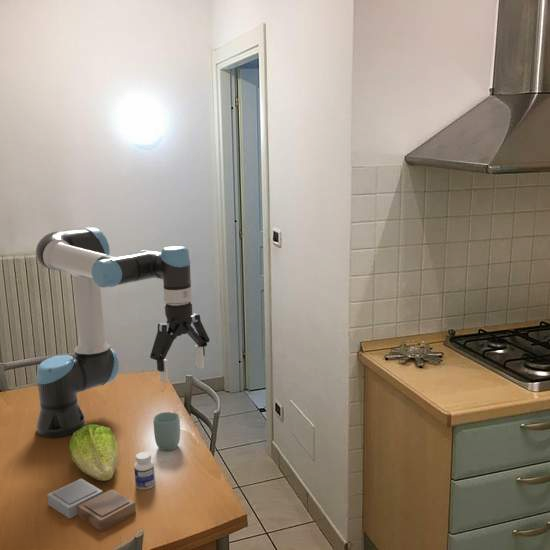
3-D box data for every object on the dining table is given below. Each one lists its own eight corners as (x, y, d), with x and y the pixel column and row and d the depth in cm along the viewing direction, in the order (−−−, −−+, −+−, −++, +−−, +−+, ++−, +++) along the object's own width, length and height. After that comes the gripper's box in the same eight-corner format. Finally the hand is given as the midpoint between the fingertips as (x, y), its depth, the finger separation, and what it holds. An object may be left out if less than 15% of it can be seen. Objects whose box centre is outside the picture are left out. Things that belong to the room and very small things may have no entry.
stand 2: (78, 516, 158) (77, 504, 157) (112, 499, 165) (111, 488, 165) (101, 531, 152) (100, 519, 151) (135, 513, 159) (134, 501, 158)
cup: (175, 454, 189) (174, 423, 187) (151, 452, 190) (149, 421, 188) (184, 442, 196) (182, 412, 194) (161, 440, 198) (159, 411, 196)
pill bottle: (136, 480, 175) (134, 451, 173) (156, 479, 175) (154, 449, 173) (134, 490, 169) (132, 460, 168) (154, 489, 170) (152, 459, 168)
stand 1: (48, 504, 164) (47, 493, 163) (82, 488, 171) (81, 477, 170) (69, 518, 157) (68, 506, 157) (103, 501, 165) (102, 489, 164)
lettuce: (74, 479, 166) (111, 445, 169) (58, 437, 187) (91, 407, 190) (103, 504, 172) (139, 470, 174) (85, 461, 193) (117, 431, 195)
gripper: (151, 313, 164) (157, 390, 168) (219, 295, 182) (222, 364, 187) (133, 309, 169) (139, 384, 173) (201, 291, 187) (205, 359, 191)
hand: (182, 374), depth 180 cm, fingers open, 13 cm apart
